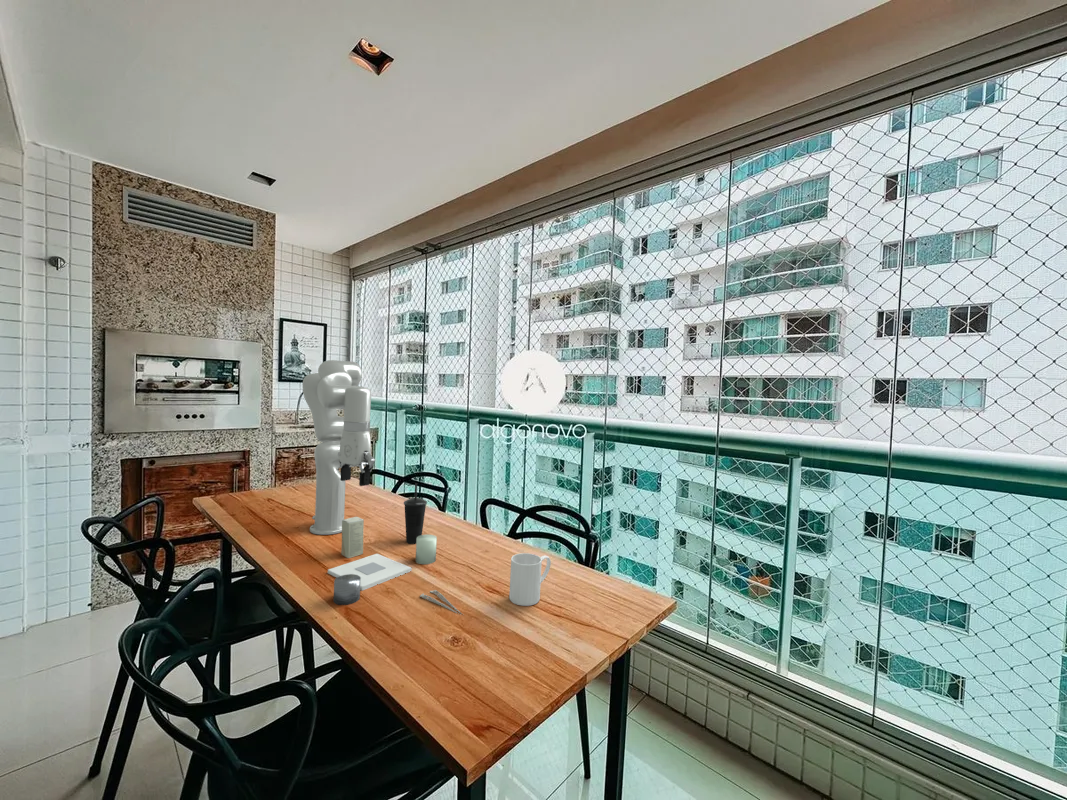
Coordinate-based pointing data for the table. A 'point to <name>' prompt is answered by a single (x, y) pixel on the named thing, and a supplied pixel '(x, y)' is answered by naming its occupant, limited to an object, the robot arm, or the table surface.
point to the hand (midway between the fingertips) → (354, 482)
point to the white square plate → (371, 570)
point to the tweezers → (438, 601)
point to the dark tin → (347, 589)
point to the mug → (526, 578)
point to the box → (352, 537)
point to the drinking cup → (414, 517)
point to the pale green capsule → (426, 549)
